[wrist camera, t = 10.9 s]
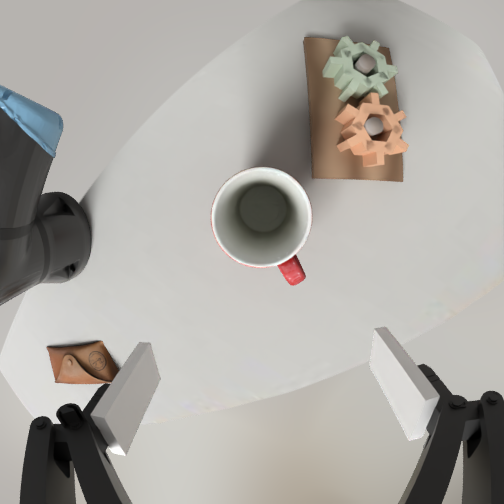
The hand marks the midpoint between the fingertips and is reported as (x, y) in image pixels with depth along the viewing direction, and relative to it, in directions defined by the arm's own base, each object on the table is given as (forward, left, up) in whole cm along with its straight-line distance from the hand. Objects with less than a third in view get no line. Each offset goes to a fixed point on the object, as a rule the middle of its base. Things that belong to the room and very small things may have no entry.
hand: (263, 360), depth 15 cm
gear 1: (+13, +25, -23) cm, 37 cm away
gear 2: (+14, +17, -23) cm, 32 cm away
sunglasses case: (-36, -21, -26) cm, 49 cm away
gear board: (+13, +21, -25) cm, 35 cm away
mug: (+1, +5, -25) cm, 25 cm away
